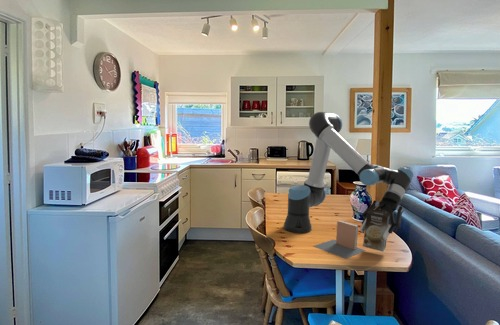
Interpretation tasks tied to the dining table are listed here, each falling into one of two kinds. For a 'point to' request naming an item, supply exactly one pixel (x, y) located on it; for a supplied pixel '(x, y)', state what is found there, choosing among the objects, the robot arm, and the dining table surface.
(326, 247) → the mat
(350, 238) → the tile
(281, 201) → the dining table surface
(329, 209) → the dining table surface
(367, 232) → the coffee box
